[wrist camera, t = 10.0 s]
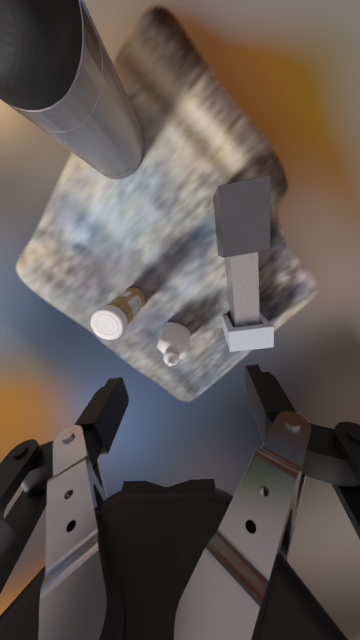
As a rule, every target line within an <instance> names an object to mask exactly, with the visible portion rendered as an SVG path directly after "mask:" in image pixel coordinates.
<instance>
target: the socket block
mask: <svg viewBox="0 0 360 640" xmlns="http://www.w3.org/2000/svg"><path fill="white" fill-rule="evenodd" d="M222 318H223V328H224V334H225V337H226V340H227V343H228V347H229V350H230V352H232V351H242V350H251V349H260V348H270V347H274V326H273V325H272V324H271V323H270V322H269V321H268V320H267V319H266V318H265V317H264V316H263V315H262V314H261V313H260V311H259V321H260V325H251V326H243V327H235V328H233V326H232V324H231V322H230V320H229V317H228V315H224V316H222Z"/></svg>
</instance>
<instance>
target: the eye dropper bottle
mask: <svg viewBox="0 0 360 640" xmlns="http://www.w3.org/2000/svg"><path fill="white" fill-rule="evenodd" d="M157 347H158V349H159V350H160V351H161V352H162V353H163V354H164V362H165V363H166V364H168V366H173V365H176V364H177V363H178V361H179V359H184V358H186V357H187V355H188V353H189V350H190V331H189V330H188V329H187V328H186V327H184V326H183V325H181V324H178V323H174V322H167V323H166V324H165V325H164V328H163V330H162V333H161V336H160V338H159V341H158V345H157Z"/></svg>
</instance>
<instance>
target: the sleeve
mask: <svg viewBox="0 0 360 640" xmlns="http://www.w3.org/2000/svg"><path fill="white" fill-rule="evenodd" d="M213 202H214V213H215V224H216V235H217V246H218V255H219V256H221V257H223V258H225V257H231V256H237V255H243V254H249V253H255V252H261V251H267V250H270V175H268V176H263V177H258V178H254V179H249V180H244V181H240V182H235V183H230V184H226V185H221V186H218V187H217V190H216V192H215V194H214V197H213Z"/></svg>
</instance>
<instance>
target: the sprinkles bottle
mask: <svg viewBox="0 0 360 640" xmlns="http://www.w3.org/2000/svg"><path fill="white" fill-rule="evenodd" d="M145 301H146V298H145V295H144V293H143V292H142V291H141V290H140V289H138V288H135V287H134V288H129V289H127V290H126V291H125V292H124V293H122V294H121V295H119V296H118V297H117V298H115V299H114V300H113V301H111V302H110V303H109V304H108V305H106V306H103V307H101V308H100V309H98V310H97V311H96V312H95V313H94V314H93V315H92V317H91V327H92V329H93V331H94V332H95V333H96V334H97V335H98V336H99V337H101V338H103V339H107V340H113V339H116V338H118V337H119V336H120V335H121V334H122V333H123V332H124V331H125V329H126V328H127V325H128V324H129V323H130V322H131V321H132V320H133V318H134V317H135V316H136V314H137V313H138V312H139V310H140V309H141V308H142V307H143V306H144V304H145Z"/></svg>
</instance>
